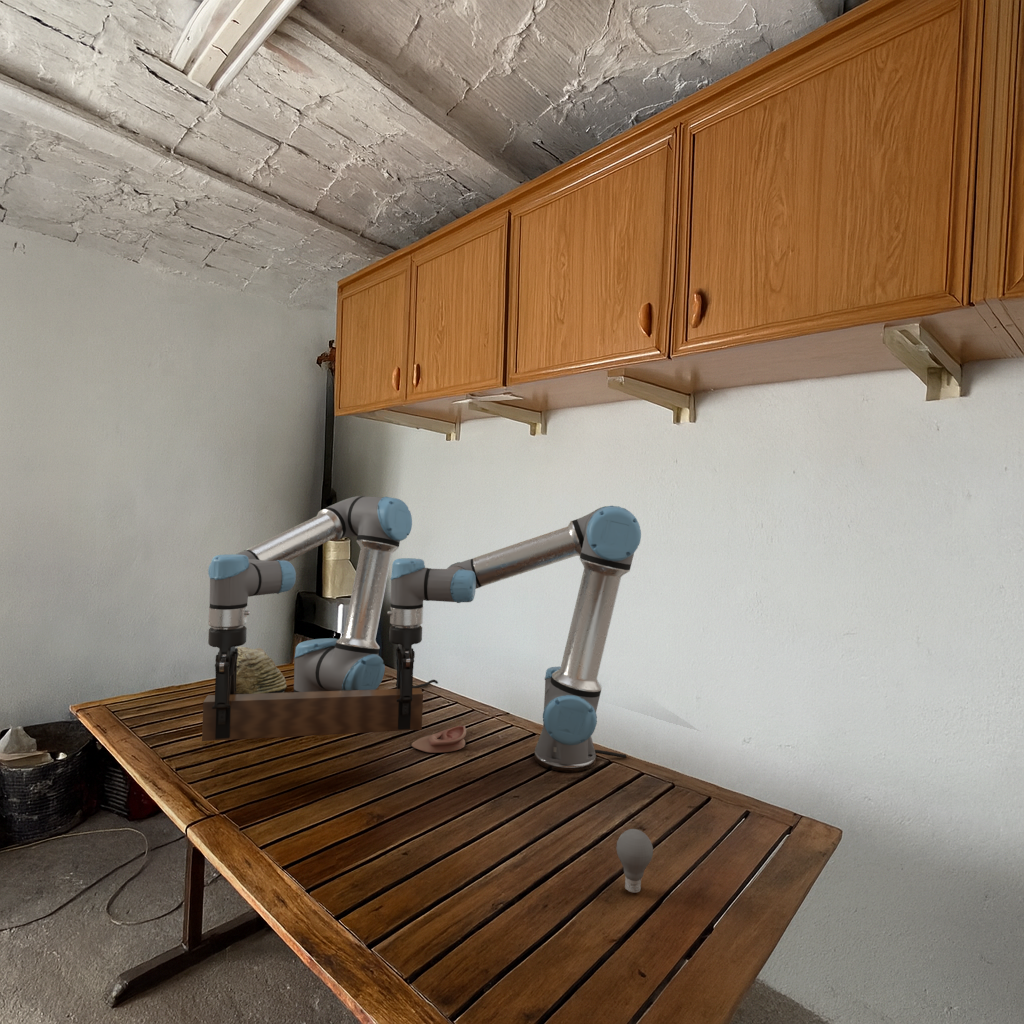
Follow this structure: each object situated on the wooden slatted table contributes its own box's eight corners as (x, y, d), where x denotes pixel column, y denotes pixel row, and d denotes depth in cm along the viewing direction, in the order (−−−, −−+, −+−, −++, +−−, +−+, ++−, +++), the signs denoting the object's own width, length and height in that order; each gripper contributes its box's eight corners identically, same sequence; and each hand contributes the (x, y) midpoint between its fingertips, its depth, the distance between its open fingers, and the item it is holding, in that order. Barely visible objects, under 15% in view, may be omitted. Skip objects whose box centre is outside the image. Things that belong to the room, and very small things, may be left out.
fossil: (218, 695, 195) (220, 647, 195) (278, 685, 208) (279, 640, 207) (228, 703, 189) (230, 653, 188) (289, 692, 201) (290, 645, 201)
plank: (201, 741, 134) (203, 702, 134) (206, 733, 139) (207, 695, 139) (421, 729, 146) (423, 694, 146) (419, 722, 151) (420, 687, 151)
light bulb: (610, 879, 108) (613, 822, 108) (644, 879, 109) (647, 822, 109) (619, 902, 102) (622, 840, 102) (655, 901, 103) (658, 840, 103)
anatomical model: (407, 734, 160) (423, 719, 171) (406, 749, 160) (422, 733, 171) (458, 740, 157) (470, 724, 168) (457, 756, 157) (469, 739, 168)
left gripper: (240, 634, 129) (237, 747, 130) (251, 618, 147) (248, 717, 147) (200, 635, 127) (197, 750, 128) (216, 618, 145) (213, 719, 145)
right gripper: (386, 618, 155) (383, 712, 155) (392, 633, 138) (389, 739, 138) (417, 617, 157) (414, 711, 157) (427, 632, 140) (423, 737, 140)
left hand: (224, 732), depth 138 cm, fingers closed on plank, 5 cm apart
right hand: (402, 724), depth 148 cm, fingers closed on plank, 5 cm apart
